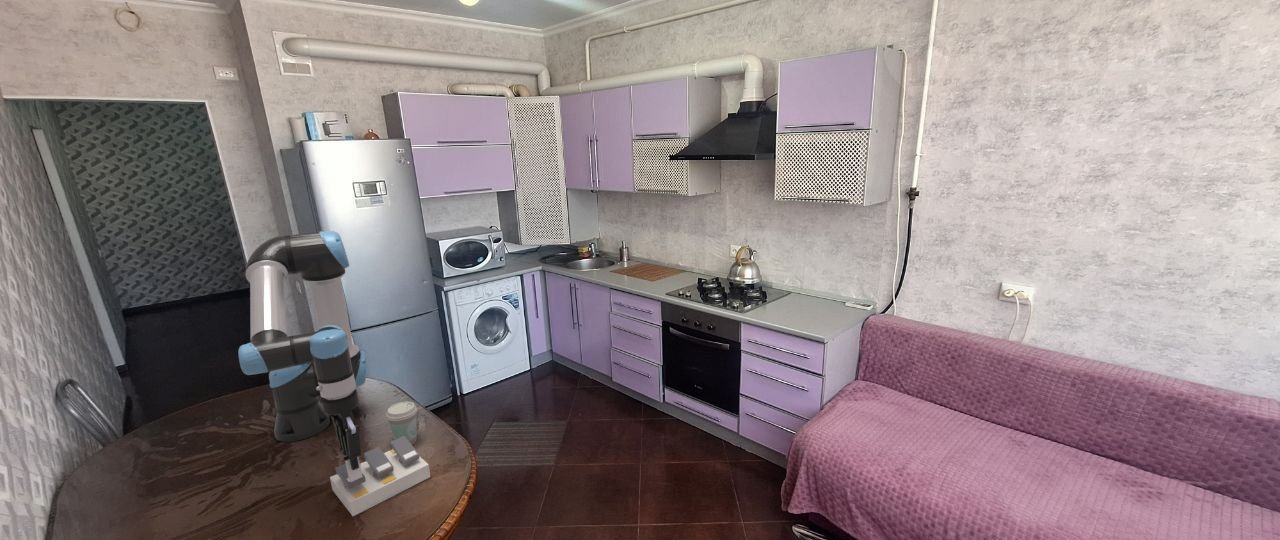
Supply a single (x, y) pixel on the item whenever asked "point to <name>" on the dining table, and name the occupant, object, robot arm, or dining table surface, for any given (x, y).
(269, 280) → the robot arm
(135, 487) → the dining table surface
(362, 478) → the switch
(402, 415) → the coffee cup
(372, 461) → the switch
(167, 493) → the dining table surface
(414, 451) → the switch
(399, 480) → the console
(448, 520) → the dining table surface
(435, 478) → the dining table surface
